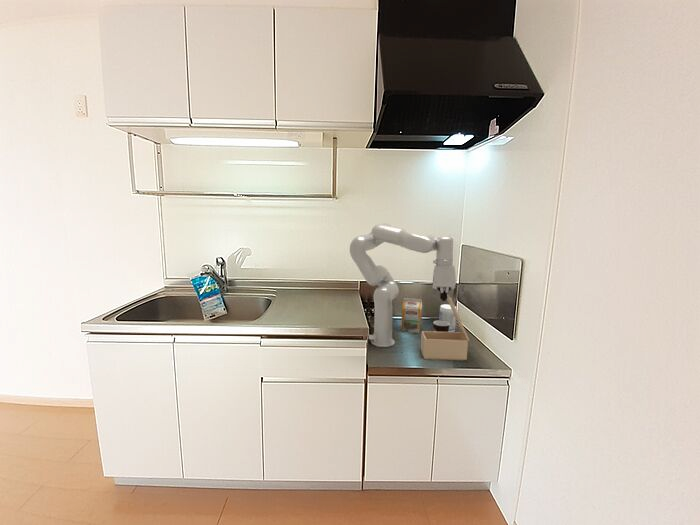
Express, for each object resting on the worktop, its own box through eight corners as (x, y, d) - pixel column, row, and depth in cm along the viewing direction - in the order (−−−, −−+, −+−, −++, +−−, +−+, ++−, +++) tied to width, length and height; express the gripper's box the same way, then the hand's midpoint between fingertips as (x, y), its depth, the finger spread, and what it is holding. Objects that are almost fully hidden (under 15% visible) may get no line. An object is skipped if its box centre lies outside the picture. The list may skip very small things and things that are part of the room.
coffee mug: (449, 344, 181) (450, 326, 180) (432, 343, 183) (433, 325, 181) (447, 336, 193) (448, 319, 191) (431, 335, 194) (432, 318, 193)
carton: (424, 359, 163) (425, 339, 162) (420, 349, 174) (421, 331, 172) (466, 360, 162) (468, 340, 161) (460, 350, 173) (461, 332, 172)
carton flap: (450, 299, 158) (451, 298, 158) (444, 293, 169) (446, 292, 169) (468, 340, 161) (469, 340, 161) (461, 332, 172) (462, 331, 171)
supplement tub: (435, 330, 203) (436, 306, 200) (443, 326, 209) (445, 303, 207) (449, 334, 196) (451, 309, 193) (458, 330, 202) (459, 306, 200)
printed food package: (401, 332, 199) (402, 300, 196) (403, 326, 209) (404, 296, 206) (419, 334, 196) (421, 302, 193) (421, 328, 206) (422, 297, 203)
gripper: (429, 264, 158) (429, 302, 160) (462, 263, 157) (461, 302, 160) (427, 261, 165) (426, 298, 168) (458, 261, 164) (457, 298, 167)
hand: (443, 300), depth 164 cm, fingers closed
